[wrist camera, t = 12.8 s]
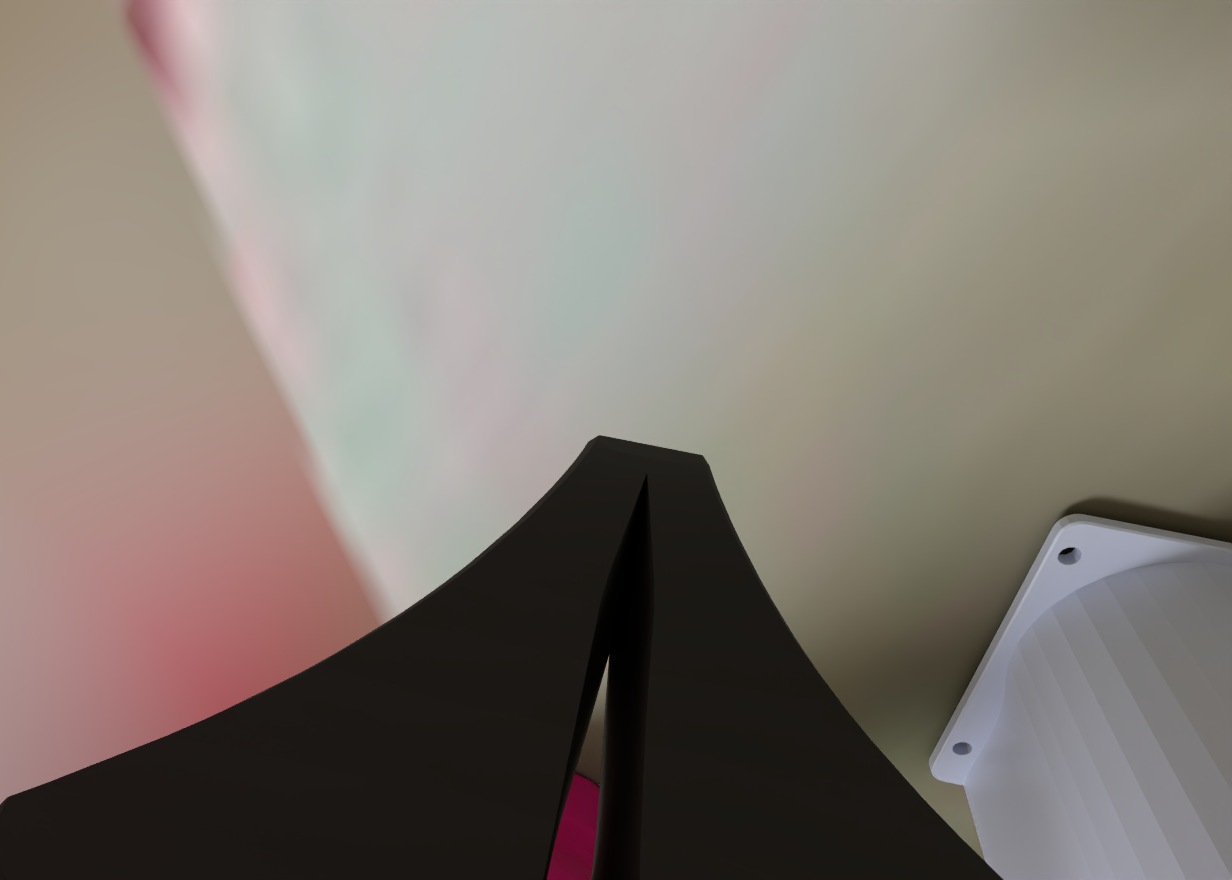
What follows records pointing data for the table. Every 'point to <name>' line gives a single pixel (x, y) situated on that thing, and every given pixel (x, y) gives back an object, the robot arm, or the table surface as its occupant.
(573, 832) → the pepper mill
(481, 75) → the table surface
